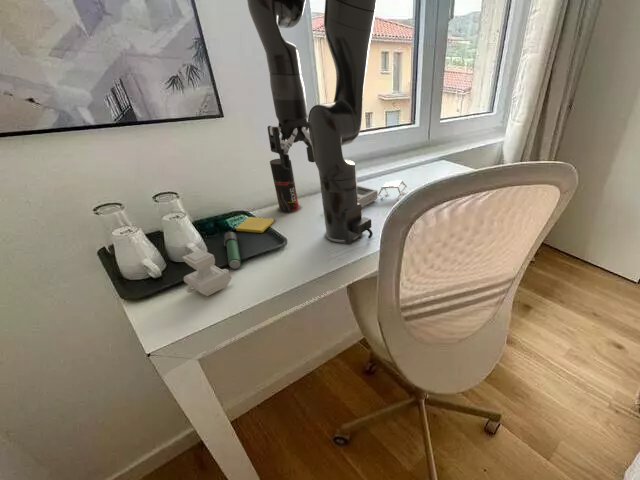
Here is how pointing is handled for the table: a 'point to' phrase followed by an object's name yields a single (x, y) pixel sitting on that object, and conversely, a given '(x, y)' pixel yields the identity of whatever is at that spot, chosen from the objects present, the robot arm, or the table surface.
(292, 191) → the deodorant
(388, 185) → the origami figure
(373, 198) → the handheld gaming device
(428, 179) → the table surface
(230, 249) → the marker
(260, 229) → the sticky pad
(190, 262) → the stamp
